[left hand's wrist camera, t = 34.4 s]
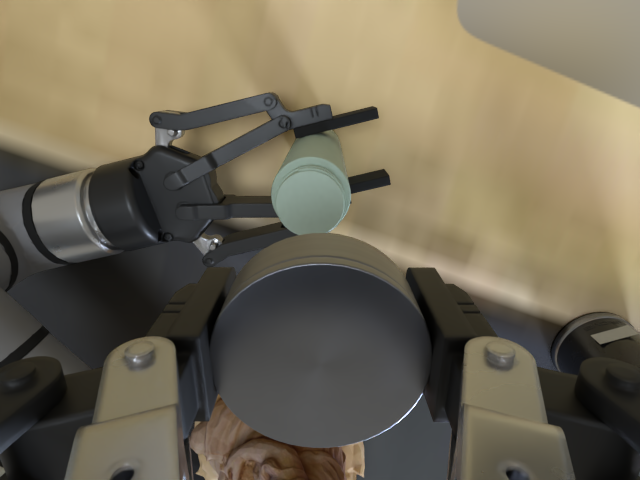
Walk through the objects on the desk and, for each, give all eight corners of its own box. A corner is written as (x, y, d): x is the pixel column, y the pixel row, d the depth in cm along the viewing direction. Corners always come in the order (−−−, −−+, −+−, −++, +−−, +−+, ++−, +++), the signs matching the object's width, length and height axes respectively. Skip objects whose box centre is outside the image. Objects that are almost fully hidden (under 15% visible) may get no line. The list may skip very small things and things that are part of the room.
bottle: (343, 167, 40) (358, 237, 22) (299, 174, 40) (276, 250, 22) (336, 120, 38) (345, 155, 20) (290, 128, 38) (258, 170, 20)
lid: (328, 190, 9) (330, 213, 8) (452, 326, 11) (477, 372, 9) (186, 313, 11) (160, 358, 9) (314, 422, 12) (313, 478, 10)
